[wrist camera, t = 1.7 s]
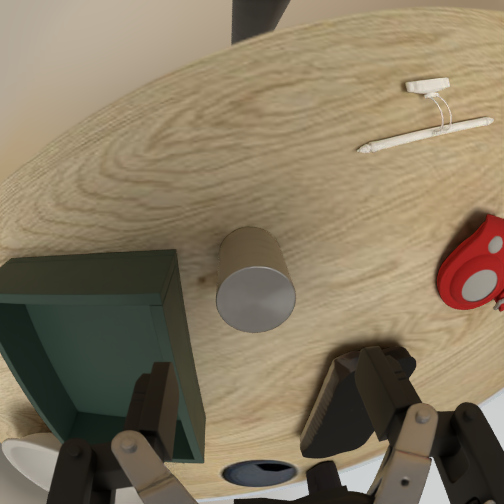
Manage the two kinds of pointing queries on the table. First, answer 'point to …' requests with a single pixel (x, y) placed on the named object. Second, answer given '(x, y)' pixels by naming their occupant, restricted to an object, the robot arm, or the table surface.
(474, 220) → the table surface
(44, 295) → the bin
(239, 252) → the metal cylinder
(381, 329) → the table surface
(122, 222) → the table surface
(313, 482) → the two-way radio
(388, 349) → the bristle scrub brush
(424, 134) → the picture light
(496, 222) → the tracker holder
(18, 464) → the soup bowl
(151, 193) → the table surface
